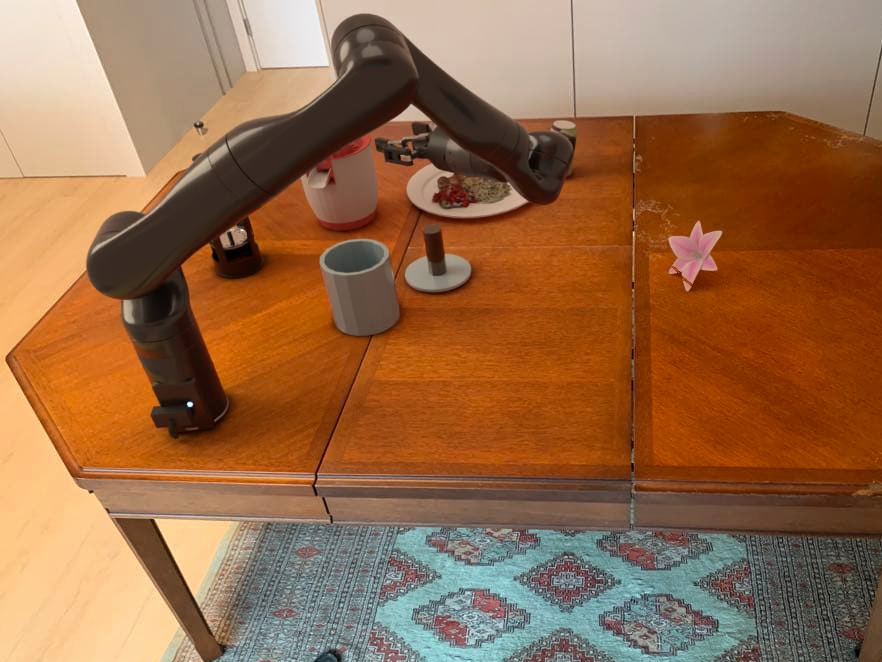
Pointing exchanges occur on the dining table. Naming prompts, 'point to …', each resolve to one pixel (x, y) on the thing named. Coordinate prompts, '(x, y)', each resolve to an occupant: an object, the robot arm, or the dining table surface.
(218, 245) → the french press
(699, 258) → the lily
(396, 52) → the robot arm
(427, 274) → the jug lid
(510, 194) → the plated food
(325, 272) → the grey cup
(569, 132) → the beverage can
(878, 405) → the dining table surface
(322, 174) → the citrus juicer
